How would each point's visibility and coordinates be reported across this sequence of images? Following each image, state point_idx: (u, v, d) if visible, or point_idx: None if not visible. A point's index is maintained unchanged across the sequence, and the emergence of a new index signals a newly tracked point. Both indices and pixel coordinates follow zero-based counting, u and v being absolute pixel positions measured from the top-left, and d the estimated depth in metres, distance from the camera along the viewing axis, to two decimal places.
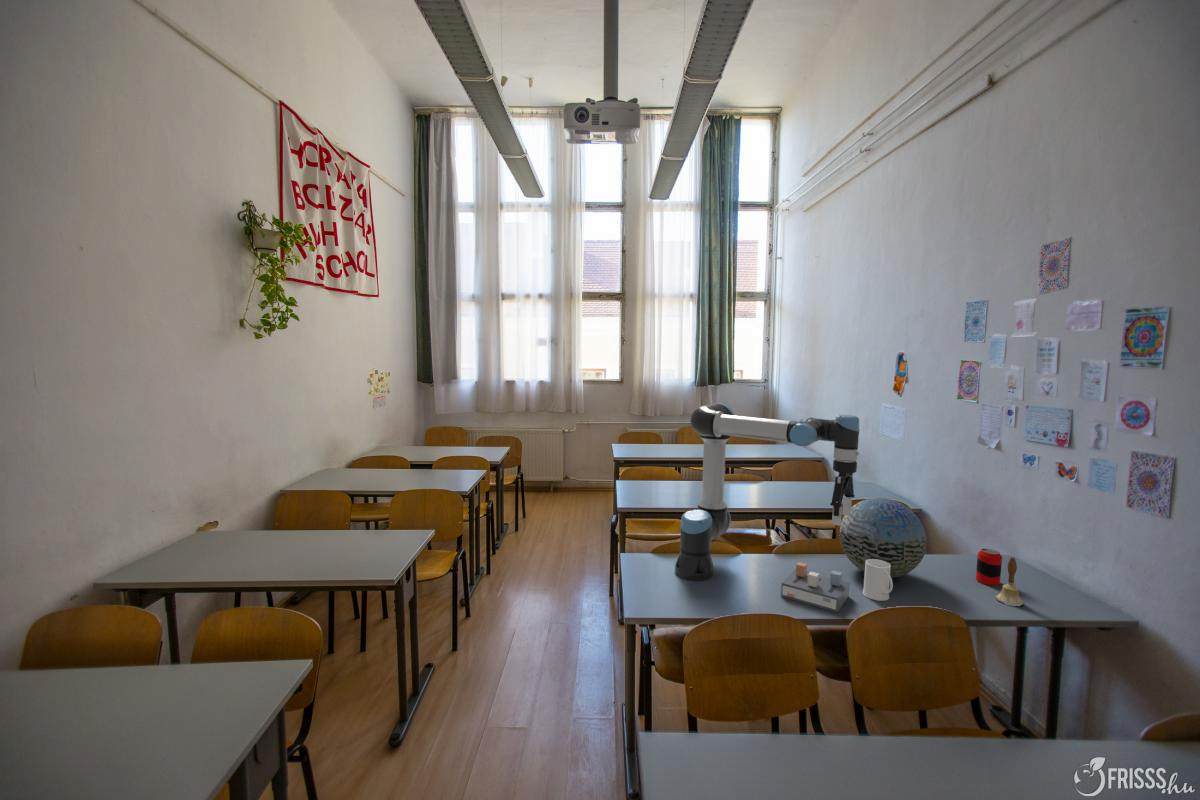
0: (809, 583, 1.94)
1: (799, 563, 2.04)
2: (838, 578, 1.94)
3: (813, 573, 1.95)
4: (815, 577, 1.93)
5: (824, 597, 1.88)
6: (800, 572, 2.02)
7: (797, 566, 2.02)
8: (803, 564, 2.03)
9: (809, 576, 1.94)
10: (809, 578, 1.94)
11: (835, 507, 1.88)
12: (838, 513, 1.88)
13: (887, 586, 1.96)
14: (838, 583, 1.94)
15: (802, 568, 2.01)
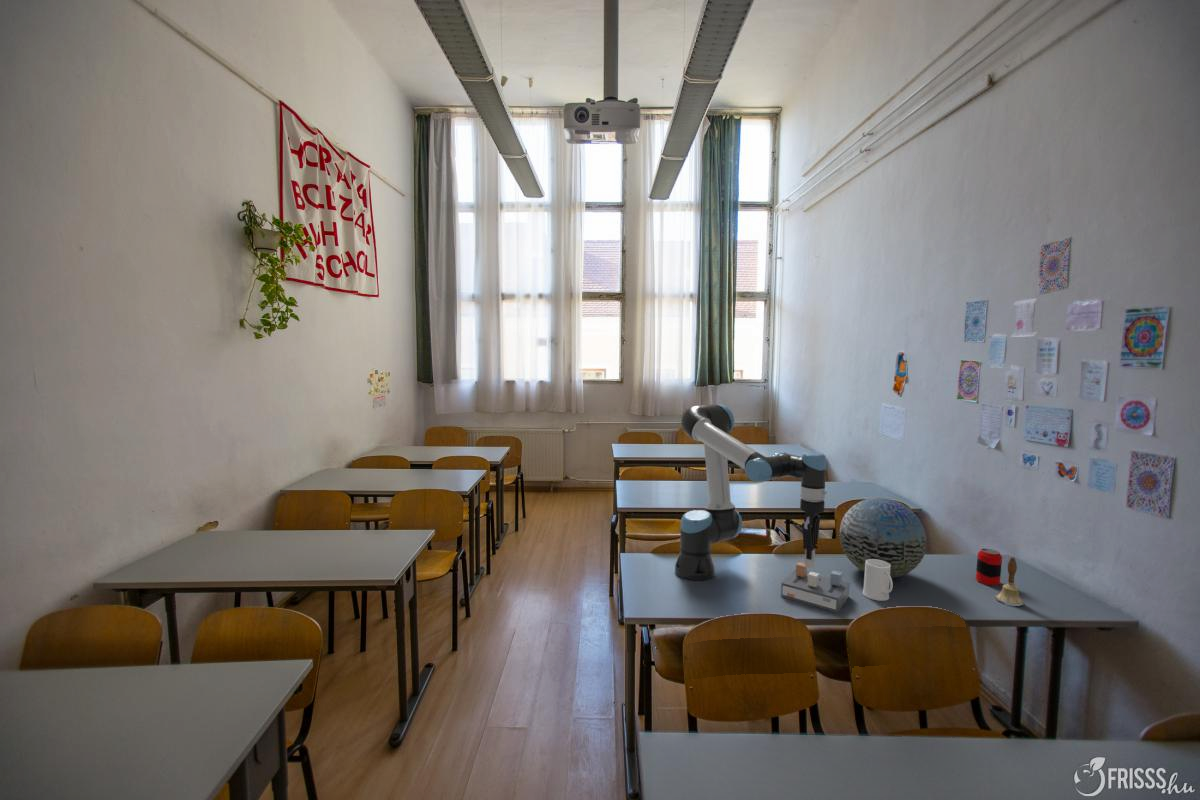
0: (809, 583, 1.94)
1: (799, 563, 2.04)
2: (838, 578, 1.94)
3: (813, 573, 1.95)
4: (815, 577, 1.93)
5: (824, 597, 1.88)
6: (800, 572, 2.02)
7: (797, 566, 2.02)
8: (803, 564, 2.03)
9: (809, 576, 1.94)
10: (809, 578, 1.94)
11: (807, 550, 1.87)
12: (810, 556, 1.87)
13: (887, 586, 1.96)
14: (838, 583, 1.94)
15: (802, 568, 2.01)
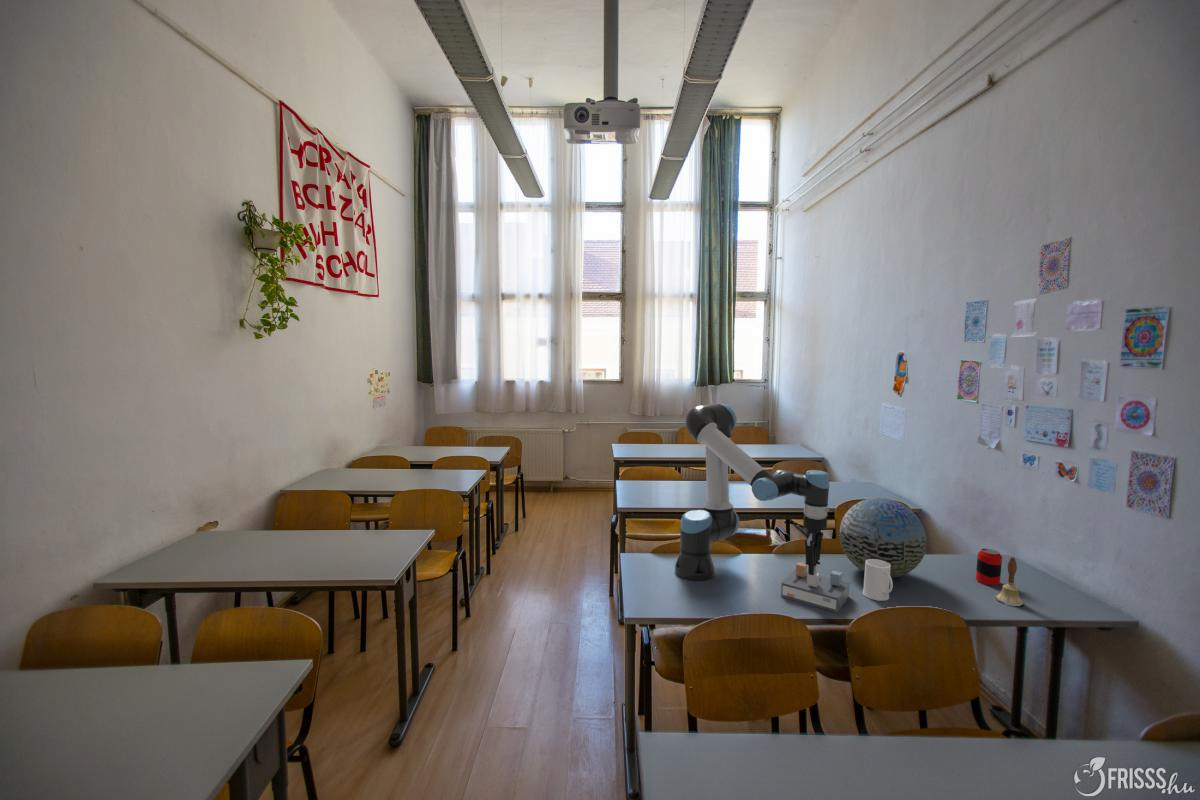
0: (809, 583, 1.94)
1: (799, 563, 2.04)
2: (838, 578, 1.94)
3: None
4: None
5: (824, 597, 1.88)
6: (800, 572, 2.02)
7: (797, 566, 2.02)
8: (803, 564, 2.03)
9: None
10: None
11: (810, 566, 1.91)
12: (813, 572, 1.91)
13: (887, 586, 1.96)
14: (838, 583, 1.94)
15: (802, 568, 2.01)
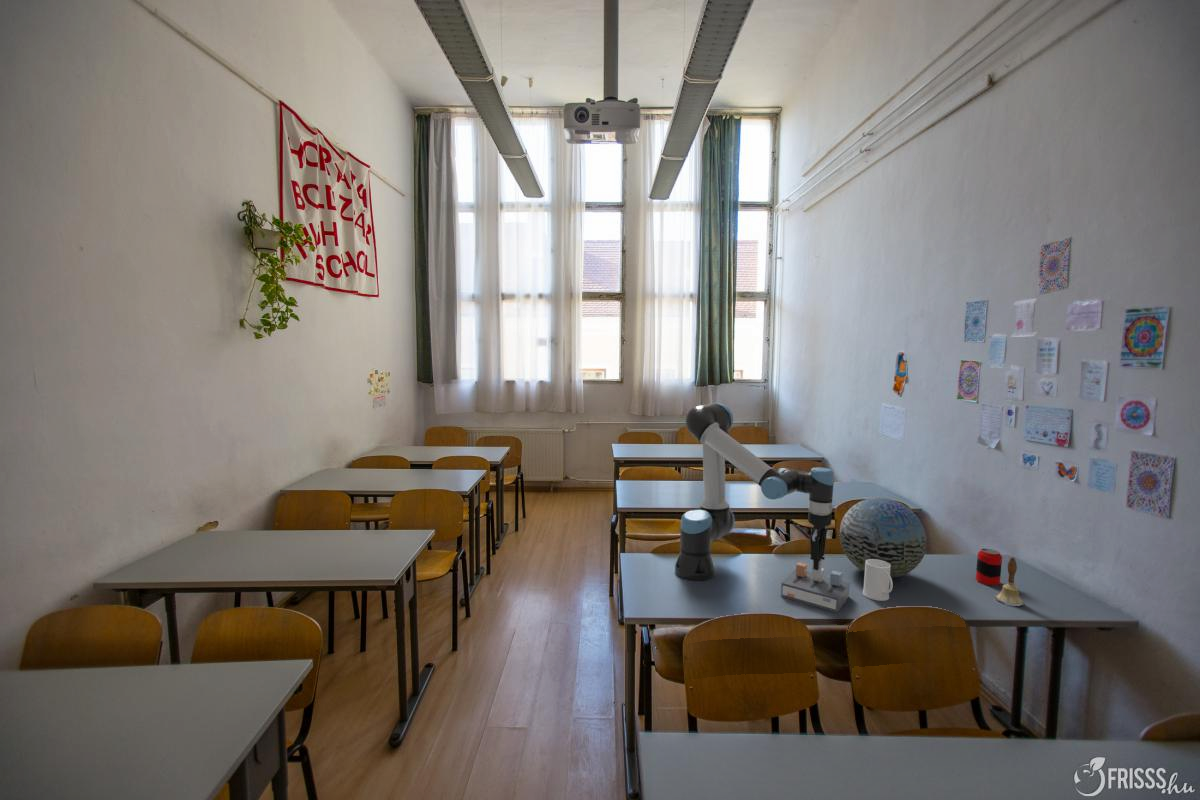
0: (814, 578, 1.99)
1: (799, 563, 2.04)
2: (838, 578, 1.94)
3: None
4: None
5: (824, 597, 1.88)
6: (800, 572, 2.02)
7: (797, 566, 2.02)
8: (803, 564, 2.03)
9: None
10: None
11: (815, 561, 1.96)
12: (818, 567, 1.96)
13: (887, 586, 1.96)
14: (838, 583, 1.94)
15: (802, 568, 2.01)
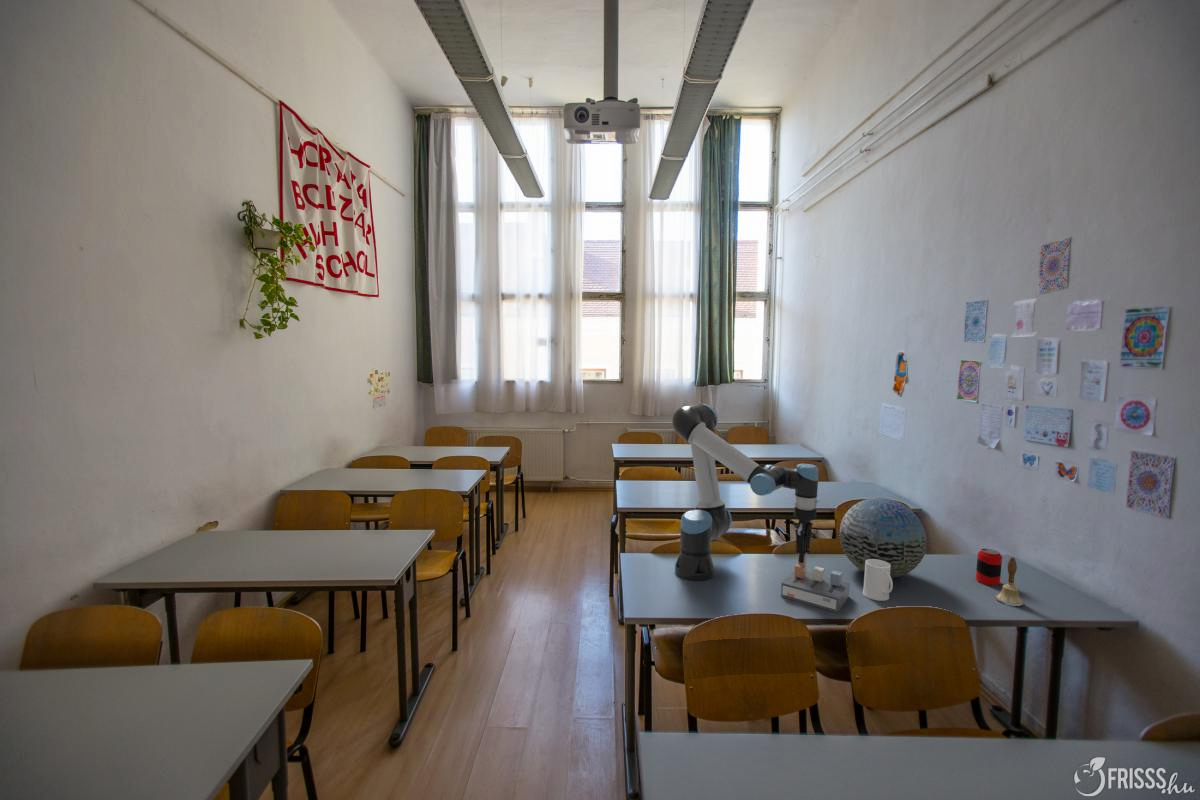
0: (814, 578, 1.99)
1: (798, 564, 2.03)
2: (838, 578, 1.94)
3: (818, 568, 2.00)
4: (820, 572, 1.97)
5: (824, 597, 1.88)
6: (799, 574, 2.01)
7: (796, 567, 2.01)
8: (802, 565, 2.02)
9: (814, 571, 1.99)
10: (814, 573, 1.99)
11: (800, 554, 2.02)
12: (803, 560, 2.02)
13: (887, 586, 1.96)
14: (838, 583, 1.94)
15: (801, 569, 2.00)
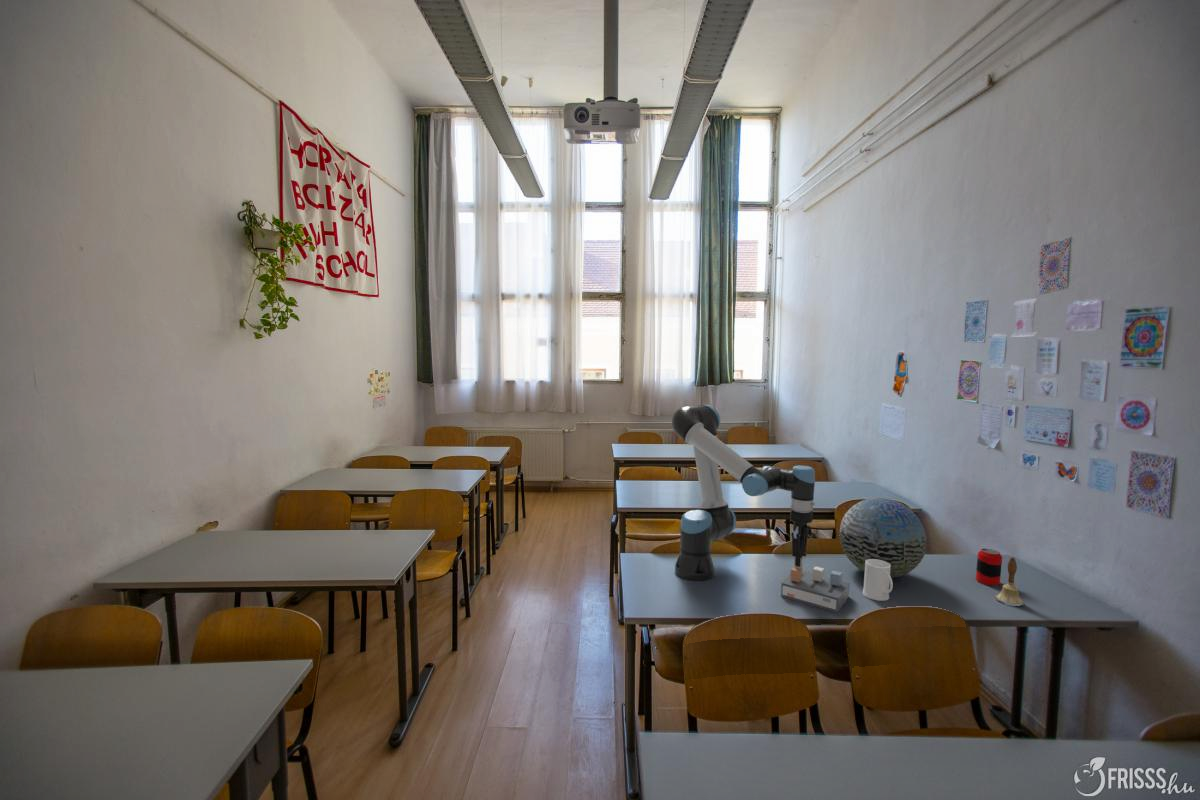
0: (814, 578, 1.99)
1: (794, 568, 1.99)
2: (838, 578, 1.94)
3: (818, 568, 2.00)
4: (820, 572, 1.97)
5: (824, 597, 1.88)
6: (795, 577, 1.97)
7: (792, 571, 1.98)
8: (798, 569, 1.98)
9: (814, 571, 1.99)
10: (814, 573, 1.99)
11: (796, 558, 1.98)
12: (799, 563, 1.99)
13: (887, 586, 1.96)
14: (838, 583, 1.94)
15: (797, 573, 1.97)
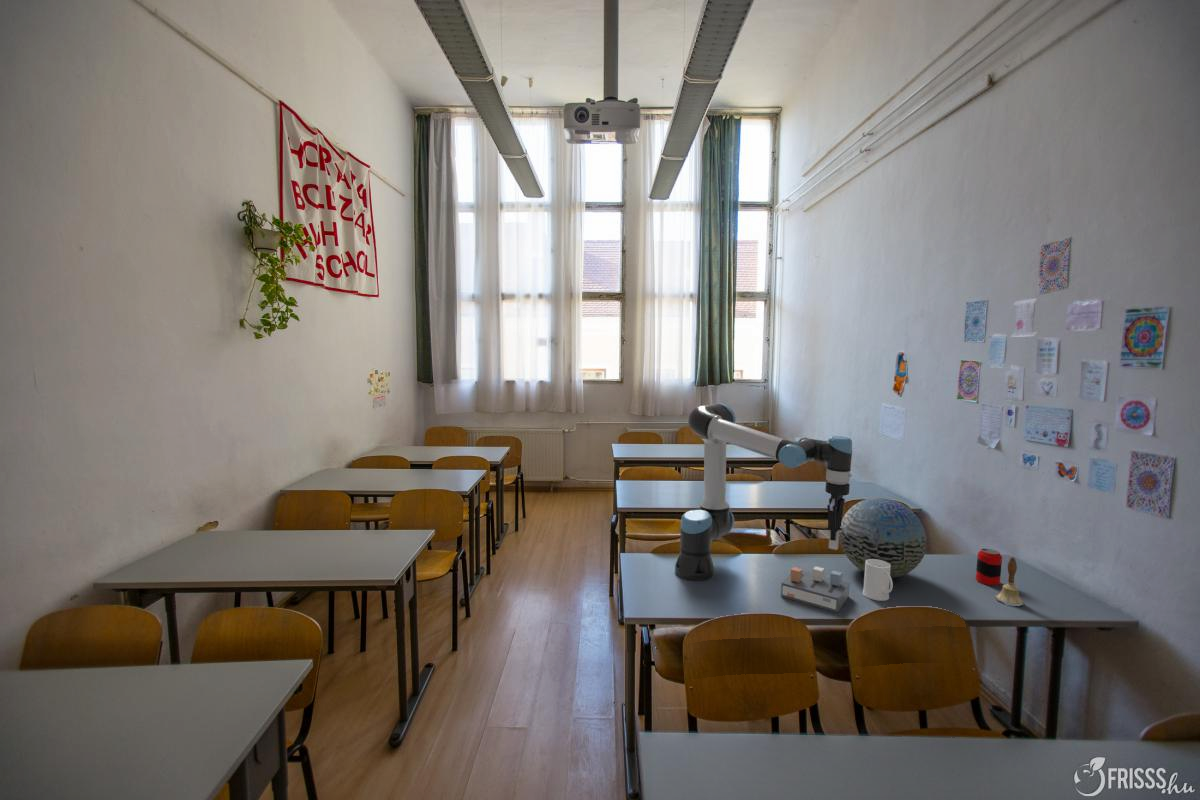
0: (814, 578, 1.99)
1: (794, 568, 1.99)
2: (838, 578, 1.94)
3: (818, 568, 2.00)
4: (820, 572, 1.97)
5: (824, 597, 1.88)
6: (795, 578, 1.97)
7: (792, 571, 1.98)
8: (798, 569, 1.98)
9: (814, 571, 1.99)
10: (814, 573, 1.99)
11: (832, 532, 1.91)
12: (835, 537, 1.92)
13: (887, 586, 1.96)
14: (838, 583, 1.94)
15: (797, 573, 1.97)
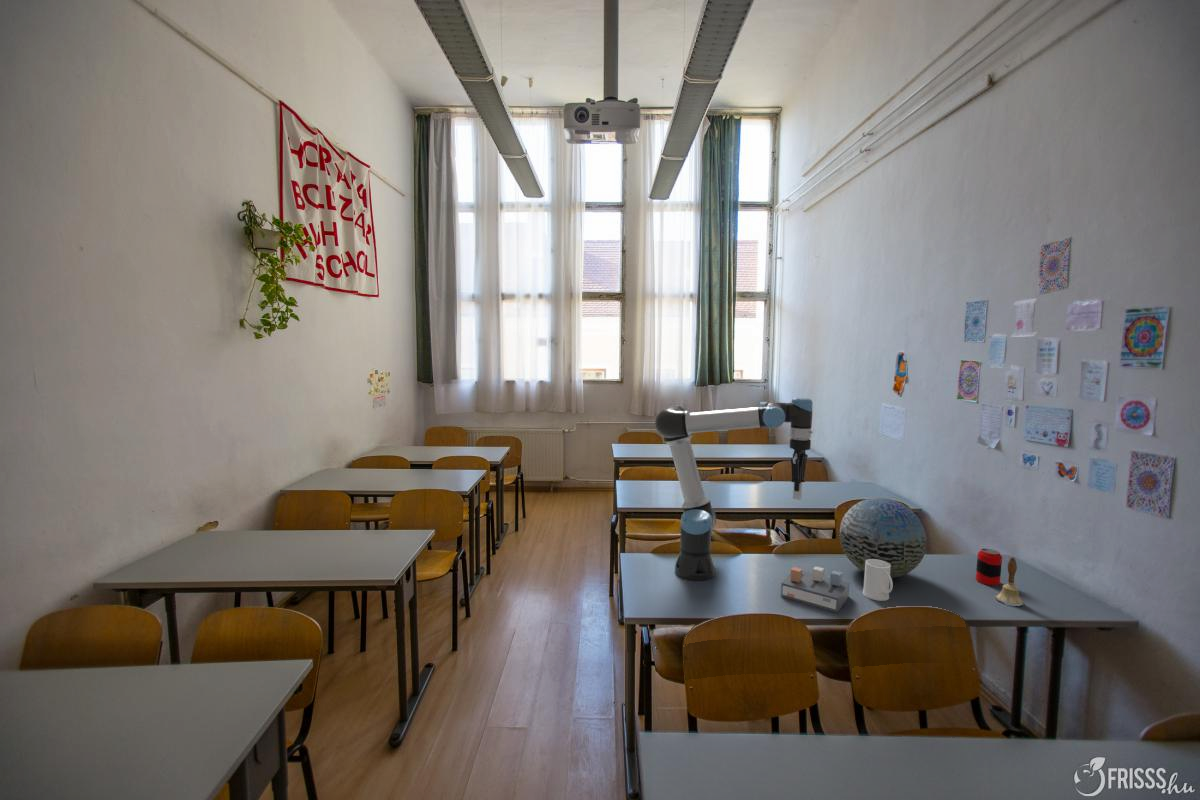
0: (814, 578, 1.99)
1: (794, 568, 1.99)
2: (838, 578, 1.94)
3: (818, 568, 2.00)
4: (820, 572, 1.97)
5: (824, 597, 1.88)
6: (795, 578, 1.97)
7: (792, 571, 1.98)
8: (798, 569, 1.98)
9: (814, 571, 1.99)
10: (814, 573, 1.99)
11: (795, 483, 2.14)
12: (798, 488, 2.14)
13: (887, 586, 1.96)
14: (838, 583, 1.94)
15: (797, 573, 1.97)
